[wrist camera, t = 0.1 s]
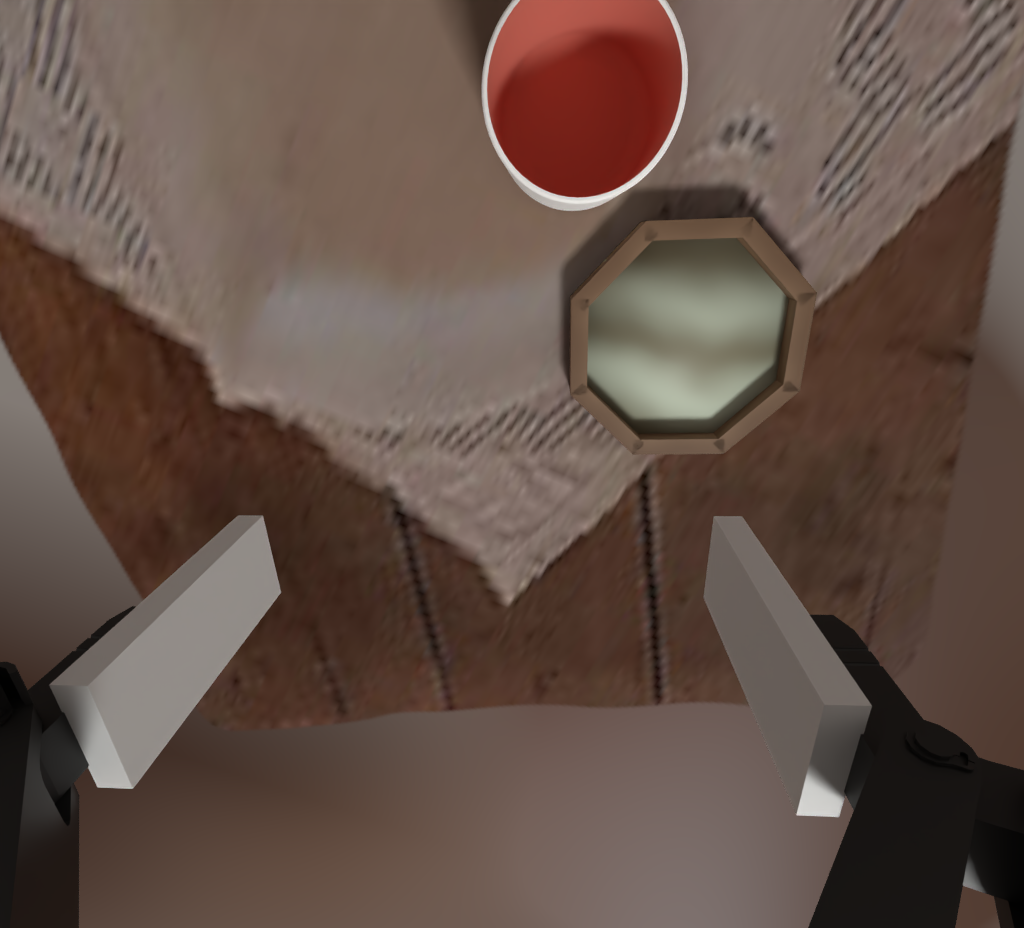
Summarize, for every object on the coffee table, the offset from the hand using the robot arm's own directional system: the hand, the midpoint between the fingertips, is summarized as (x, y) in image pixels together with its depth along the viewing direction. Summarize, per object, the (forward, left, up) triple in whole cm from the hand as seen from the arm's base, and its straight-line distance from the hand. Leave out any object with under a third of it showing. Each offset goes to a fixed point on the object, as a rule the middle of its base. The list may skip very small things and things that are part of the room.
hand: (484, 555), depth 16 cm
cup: (-15, +4, -28) cm, 32 cm away
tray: (-1, +12, -28) cm, 30 cm away
